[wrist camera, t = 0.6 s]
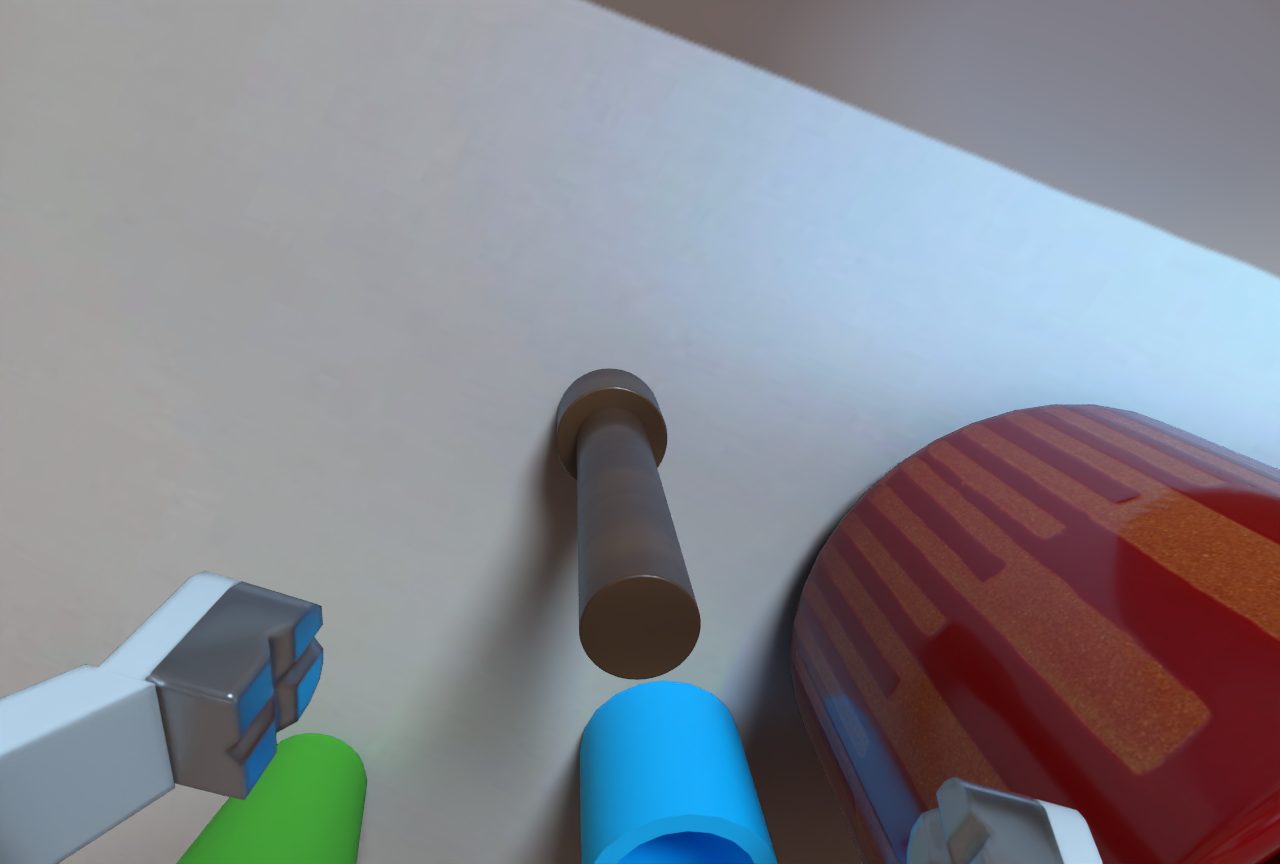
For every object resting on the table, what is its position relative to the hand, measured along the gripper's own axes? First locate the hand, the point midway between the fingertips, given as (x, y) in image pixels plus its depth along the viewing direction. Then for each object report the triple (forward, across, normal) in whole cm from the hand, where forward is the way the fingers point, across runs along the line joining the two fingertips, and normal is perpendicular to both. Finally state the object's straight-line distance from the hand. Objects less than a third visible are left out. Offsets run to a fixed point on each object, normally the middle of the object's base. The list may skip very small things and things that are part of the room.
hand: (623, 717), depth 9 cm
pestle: (+21, +3, +8) cm, 23 cm away
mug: (+18, -3, +27) cm, 32 cm away
